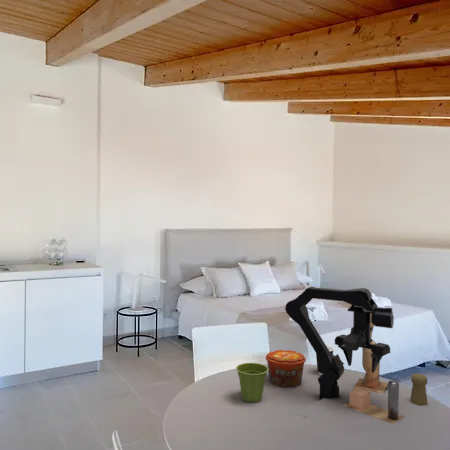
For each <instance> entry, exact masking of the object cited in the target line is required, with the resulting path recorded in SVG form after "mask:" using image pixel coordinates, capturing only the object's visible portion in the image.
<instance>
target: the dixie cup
mask: <svg viewBox="0 0 450 450" xmlns="http://www.w3.org/2000/svg"><path fill="white" fill-rule="evenodd" d="M326 346H327V348H328V350H329V351H330V352H331V353H332V354H333V355H334V350H335V348H334V347H333V346H330V345H326ZM315 357H316V367H317V368H316V369H317V372H318V373H317V374H318V375H319V376H321V375H322V374H323V370H322V368H321V363H320V359H319V357H318V355H317V354H316V353H315Z"/></svg>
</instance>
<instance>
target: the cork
mask: <svg viewBox="0 0 450 450" xmlns="http://www.w3.org/2000/svg"><path fill="white" fill-rule="evenodd" d="M410 377H411V379H410V380H411V383H412V387H411V393H410V399H409V400H410V402H411V404H413V405H416V406H427V405H428V397H427V386H426V385H427V384H428V378H427V376H425V375H424V374H421V373H414V374H412V375H411V376H410Z"/></svg>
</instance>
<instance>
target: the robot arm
mask: <svg viewBox="0 0 450 450" xmlns="http://www.w3.org/2000/svg"><path fill="white" fill-rule="evenodd" d="M313 299H316V300H326V301H337V302H344V303H346V304H349V305H351V306H349V307H348V308H347V312H353V314H352V315H353V317H352V320H353V323H352V324H353V326H352V327H351V328H350V333H348V334H343V333H342V334H339V335H338V336H337V335H336V337H335V338H334V345H336V346H337V347H338V348H339V349H340V350H341V351H342V352H343V354H344V357H345V359H346V362H347V365H348V367H350V366H352V362H353V353H354V352H353V351H355V352H356V351H358V350H359V348H362V349H363V348H367V349H371V352H372V353H373V354H371V357H372V373H374V372H375V370H376V368H377V366H378V364H379V362H380V363H381V360H382V358H383V357H384V356H386V355H389V354H390V353H391V347H390V345H389V344H387V343H384V342H383V343H382V342H376V344H370V343H371V342H372V340H373V338H371V339H370V331H372V327H370V313H371V314H372V316H371V322H372V323H373V324H374V327H378V328H387V329H393V328H394V322H395V317H394V312H393V307H381V306H380V307H379V305H377V303H376V302H375V300H374V299H373V294H372V293H371V291H370V290H369V289H368V288H365V287H360V288H350V289H338V288H337V289H336V288H324V287H315V286H309V287H308V288H305V290H304V291H303V292H302V293H300V295H298V296H297V297H296V298H294V299H292V300H289V301H288V302H287V303H286V304H285V308H284V310H285V313H286V314H287V315H288V316H289V318H291V320H292V321H294V322H295V323H296V324H297V325H298V326H299V327H300V329H301V331H302V332H303V334H304V335H305V338H307V340H308V342H309V344H310V345H311V346H310V347H312V350H313V351H314V352H315V355H316V354H317V355H318V357H319V359H320V363H321V368H322V370H323V374H322V375H319V376H318V378H317V381H318V385H319V395H318V396H319V397H318V401H321V400H323V399H325V398H326V399H337V398H340V386H339V384H338V381H339V380H340V378H341V377H342V376H343V375H344V373H345V366H344V365H345V362H344V361H342V360H341V356H339V354H338V353H337V354H336V355H334V353H333V354H332V353H331V352H330V351H329V350H328V348H327V346H328V345H326V343H325V341H324V340H323V338H322V336H321V335H320V333H319V332H318V330H317V328H316V326H315V325H314V324H313V321H312V320H311V319H310V315H309V311H308V307H307V305H308V304H309V303H310V302H311V301H312V300H313ZM365 345H366V346H365Z"/></svg>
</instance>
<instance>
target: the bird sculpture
mask: <svg viewBox="0 0 450 450" xmlns="http://www.w3.org/2000/svg"><path fill="white" fill-rule="evenodd" d="M371 316H372V314H371V313H370V327H372V331H370V339H372V335H373V332H374V328H375V325H374V324H373V323H372V322H371ZM370 344H377V342H375V340H373V339H372V342H371V343H370ZM365 346H366V345H365ZM361 351H362V363H361V364H362V369H363V370H364V371H365V375H364V376H363V378H360V377H359V378H358V379H357V381H356V383H355V384H354V386H353V388H354V389H356V388H360V389H363V390H366V391H369V392H370V393H371V392H372V393H376V394H377V393H378V394H385V391H386V388H388V382H385V381H384V382H383V381H380V365H381V364H380V363H381V361H380V362H379V364H378V366H377V368H376V370H375V372H374V373H372V357H371V354H373V353H372V352H371V349H367V348H362V350H361Z"/></svg>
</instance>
